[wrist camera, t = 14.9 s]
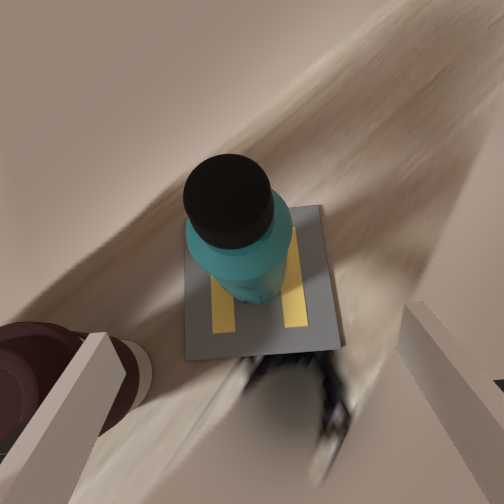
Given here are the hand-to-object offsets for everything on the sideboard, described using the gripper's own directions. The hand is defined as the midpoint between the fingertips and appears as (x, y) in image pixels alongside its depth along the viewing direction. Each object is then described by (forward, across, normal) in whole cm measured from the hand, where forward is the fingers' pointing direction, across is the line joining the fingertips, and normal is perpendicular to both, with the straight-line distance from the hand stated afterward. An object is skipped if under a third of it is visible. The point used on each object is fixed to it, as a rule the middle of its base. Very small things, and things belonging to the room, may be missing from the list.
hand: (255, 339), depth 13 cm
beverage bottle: (+17, 0, -8) cm, 18 cm away
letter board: (+17, 0, -8) cm, 19 cm away
